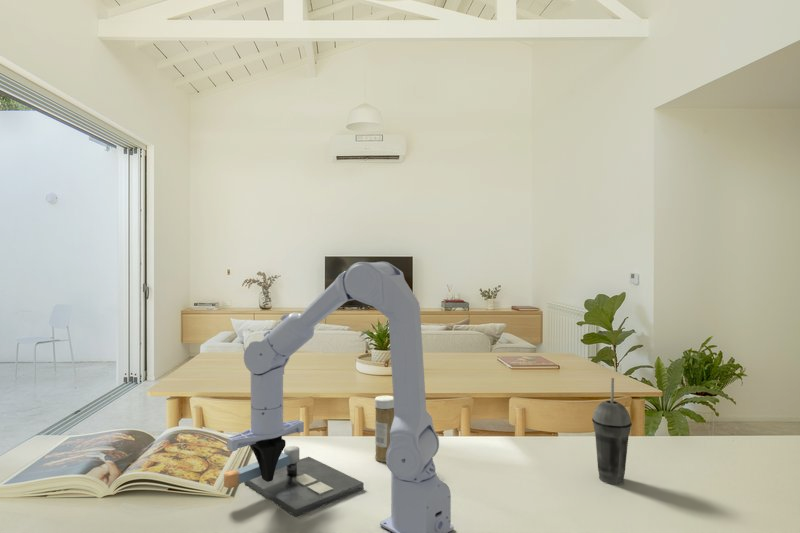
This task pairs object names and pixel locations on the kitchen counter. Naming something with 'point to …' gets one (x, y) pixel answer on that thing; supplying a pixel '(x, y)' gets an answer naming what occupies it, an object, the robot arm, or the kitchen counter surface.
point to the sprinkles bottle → (383, 425)
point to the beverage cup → (611, 439)
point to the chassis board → (305, 486)
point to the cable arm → (253, 470)
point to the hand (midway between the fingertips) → (267, 479)
